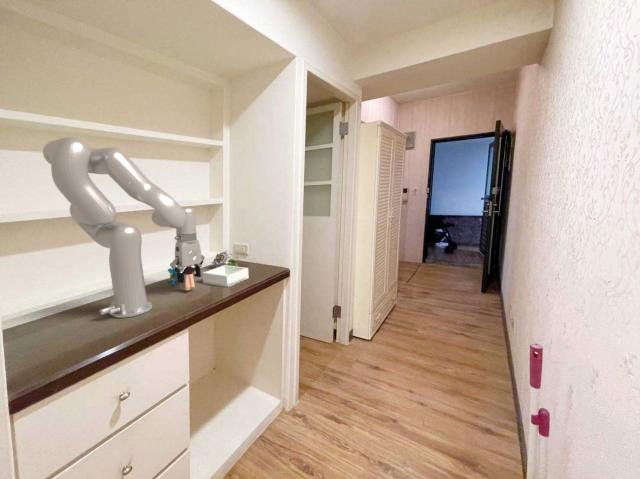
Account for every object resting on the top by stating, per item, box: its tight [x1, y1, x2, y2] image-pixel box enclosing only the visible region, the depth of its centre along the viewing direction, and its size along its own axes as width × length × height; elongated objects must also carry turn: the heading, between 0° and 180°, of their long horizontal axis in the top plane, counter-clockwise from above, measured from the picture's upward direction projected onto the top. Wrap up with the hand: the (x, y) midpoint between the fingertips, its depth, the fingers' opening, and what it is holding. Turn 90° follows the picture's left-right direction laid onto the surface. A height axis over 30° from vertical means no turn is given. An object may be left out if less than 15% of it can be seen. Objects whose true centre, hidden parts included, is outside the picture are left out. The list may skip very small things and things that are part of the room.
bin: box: [201, 264, 250, 288], centre depth 140 cm, size 14×14×5 cm
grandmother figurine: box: [182, 265, 196, 291], centre depth 126 cm, size 8×4×13 cm, turn 170°
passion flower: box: [211, 249, 240, 268], centre depth 161 cm, size 11×11×12 cm
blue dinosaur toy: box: [167, 267, 186, 285], centre depth 138 cm, size 11×6×10 cm
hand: (189, 279), depth 126 cm, fingers closed on grandmother figurine, 7 cm apart
